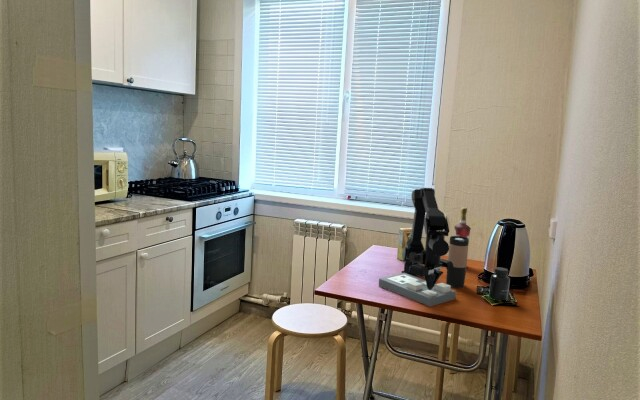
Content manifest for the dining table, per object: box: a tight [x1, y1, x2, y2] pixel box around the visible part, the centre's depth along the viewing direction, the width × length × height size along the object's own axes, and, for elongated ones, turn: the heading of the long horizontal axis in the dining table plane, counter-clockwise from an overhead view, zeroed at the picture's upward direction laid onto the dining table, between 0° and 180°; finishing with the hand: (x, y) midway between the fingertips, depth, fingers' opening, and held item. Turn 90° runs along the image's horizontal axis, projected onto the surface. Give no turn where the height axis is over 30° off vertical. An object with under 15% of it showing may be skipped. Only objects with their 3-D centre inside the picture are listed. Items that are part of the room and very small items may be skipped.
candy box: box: [396, 227, 412, 261], centre depth 229 cm, size 9×4×15 cm, turn 113°
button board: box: [378, 272, 457, 307], centre depth 183 cm, size 15×26×3 cm, turn 38°
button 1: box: [407, 281, 423, 291], centre depth 178 cm, size 4×4×3 cm
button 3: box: [435, 282, 452, 293], centre depth 178 cm, size 4×4×3 cm
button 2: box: [421, 290, 437, 297], centre depth 173 cm, size 4×4×3 cm
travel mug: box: [445, 235, 470, 289], centre depth 192 cm, size 8×8×20 cm
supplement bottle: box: [488, 266, 511, 301], centre depth 179 cm, size 7×7×12 cm
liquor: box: [453, 207, 471, 240], centre depth 219 cm, size 7×7×28 cm
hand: (429, 289), depth 173 cm, fingers closed
